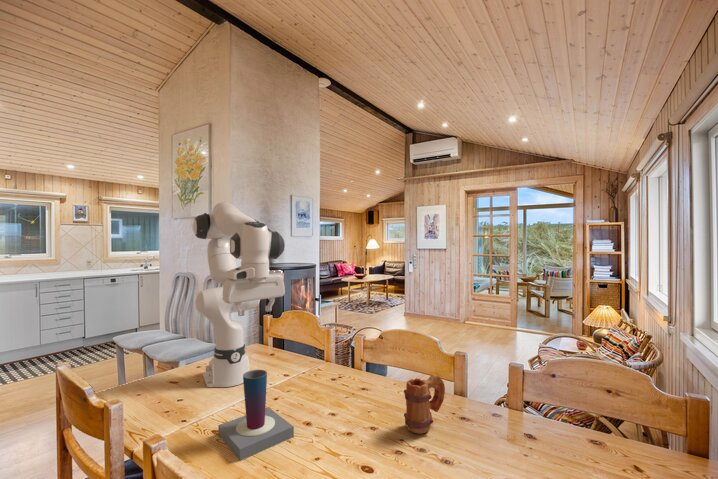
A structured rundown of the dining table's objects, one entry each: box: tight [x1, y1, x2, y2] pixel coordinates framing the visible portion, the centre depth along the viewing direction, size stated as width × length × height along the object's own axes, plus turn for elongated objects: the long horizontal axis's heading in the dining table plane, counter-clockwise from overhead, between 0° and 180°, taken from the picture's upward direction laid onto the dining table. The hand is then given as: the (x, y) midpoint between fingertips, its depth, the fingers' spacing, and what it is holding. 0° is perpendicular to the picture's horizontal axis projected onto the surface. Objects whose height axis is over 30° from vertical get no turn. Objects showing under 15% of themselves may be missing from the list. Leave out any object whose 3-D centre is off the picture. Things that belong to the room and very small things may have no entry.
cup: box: [242, 369, 268, 430], centre depth 100 cm, size 7×7×15 cm
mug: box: [403, 373, 446, 434], centre depth 104 cm, size 15×8×15 cm, turn 117°
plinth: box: [217, 407, 295, 461], centre depth 100 cm, size 16×16×3 cm
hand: (255, 313), depth 112 cm, fingers open, 8 cm apart
